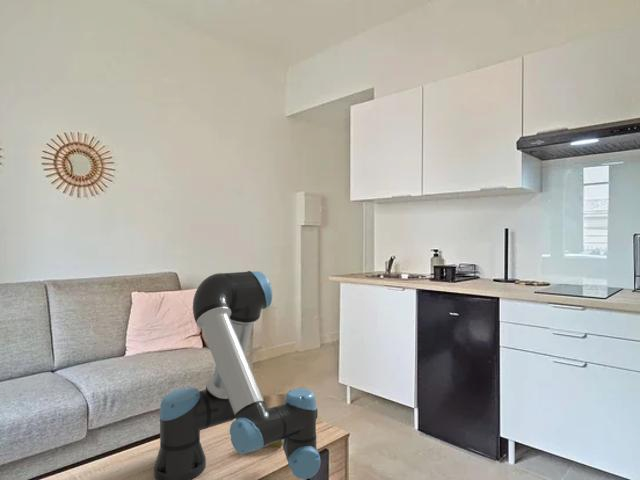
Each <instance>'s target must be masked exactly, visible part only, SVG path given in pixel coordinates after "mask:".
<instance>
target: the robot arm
mask: <svg viewBox="0 0 640 480" xmlns="http://www.w3.org/2000/svg"><path fill="white" fill-rule="evenodd" d="M272 302H273V289H272V285H271V282H270V280H269V278H268V277H267V276H266V275H265V274H264V273H263V272H261V271H251V270H247V271H238V272H237V271H236V272H224V273H223V272H221V273H220V272H218V273H214V274H211V275H209V276H207V277H206V278H205V279H204V280H202V282H201V283H200V284H199V285H198V287H197V288H196V290H195V294H194V296H193V301H192V315H193V318H194V321H195V324H196V326H197V328H198V329H202V331H203V334H204V336H205V340H206V341H207V342H206V343H207V345H208V347H209V350H210V353H211V355H212V358H213V361H214V363H215V366H214V370H213V375H212V376H211V377H210V378H209V379H208V380H207V381H206V387H205V389H203V390H199V389H197V388H196V387H187V388H186V387H184V388H183V387H182V388H179V389H177V390H174V391H172V392H170V393H168V394H166V395H165V396H164V397H163V399H162V400H161V402H160V406H159V414H158V416H159V438H160V439H159V442H160V443H159V444H160V445H159V449H158V453H157V456H156V460H155V463H154V467H153V475H154V478H155V479H156V480H193V479H194V478H196V477H199V475H201V474H202V473H203V472H204V471H205V469H206V465H207V461H206V459H207V458H206V454H205V451H204V449H203V446H202V443H201V437H200V435H201V431H203V430H207V429H210V428H213V427H216V426H219V425H222V424H225V423H229V422H231V424H230V427H229V435H230V442H231V445H232V447H233V448H234V450H235V451H236V452H237V453H239V454H241V455H246V454H250V453H253V452H255V451H258V450H261V449H264V448H265V447H269V446H268V445H270V444H272V443H275V442H277V441H281V443H282V446H281V447H282V449H283V452H284V454H285V458H286V461H287V465H288V468H289V469H290V470H291V472H292V475H294V476H295V478H298V479H300V480H307V479H311V478H313V477H314V476H316V475H317V473H318V472H319V469H320V467H321V456H320V453H319V450H317V449H318V448H317V447H318V446H317V429H316V427H317V419H318V408H317V404H316V402H317V401H316V395H315V394H314V392H313V391H312V390H309V389H307V388H294V389H291V390H289V391H288V392H287V393H285V394H286V399H285V403H284V404H281V405H278V406H275V407H272V408H270V409H267V407H266V404H265V402H264V396H262V393H261V390H260V388H259V386H258V383H257V380H256V378H255V376H254V373H253V371H252V368H251V367H250V364H249V361H248V359H247V356H246V354H247V351H248V346H249V342H250V338H251V334H252V329H253V325H254V323H256V322H257V321H259V319H260V316H261V313H262V309H263V310H264V309H265V310H266V309H267V308H269V307H270V306H271V304H272Z"/></svg>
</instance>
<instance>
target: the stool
mask: <svg viewBox="0 0 640 480" xmlns="http://www.w3.org/2000/svg"><path fill="white" fill-rule="evenodd" d="M286 394H287V393H279V394H270V395H263V400H264V402H265V404H266V407H267V409H270V408H272V407H275V406H278V405H281V404H284V403H285V399H286Z"/></svg>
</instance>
